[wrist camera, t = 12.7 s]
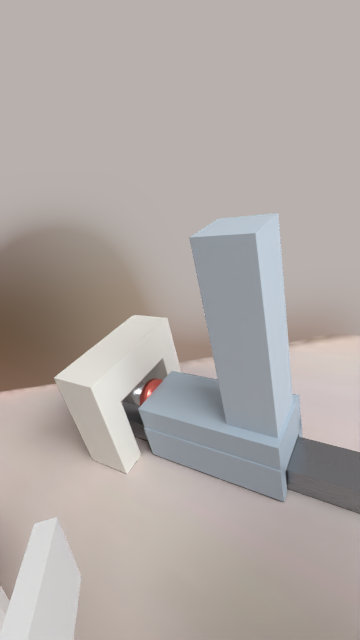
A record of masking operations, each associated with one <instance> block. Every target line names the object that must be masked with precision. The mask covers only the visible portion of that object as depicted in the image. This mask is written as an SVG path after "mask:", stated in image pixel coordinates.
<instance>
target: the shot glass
mask: <svg viewBox="0 0 360 640" xmlns="http://www.w3.org/2000/svg"><path fill="white" fill-rule="evenodd" d="M9 603H10V601H9V599H8V597H7V596H6V594H5V592H4V591H3V589H2V587H1V586H0V631H1V628H2V625H3V622H4V618H5V615H6V612H7V609H8V606H9Z"/></svg>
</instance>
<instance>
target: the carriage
mask: <svg viewBox="0 0 360 640" xmlns="http://www.w3.org/2000/svg"><path fill="white" fill-rule="evenodd" d="M190 243H191V248H192V253H193V258H194V263H195V267H196V273H197V278H198V283H199V287H200V293H201V298H202V303H203V308H204V313H205V318H206V323H207V328H208V332H209V338H210V343H211V348H212V353H213V358H214V363H215V368H216V373H217V378H218V380H217V379H212V378H207V377H202V376H196V375H191V374H186V373H181V372H175V371H171V372H170V373H169V374H168V375H167V377H166V378H165V379H164V380H163V381H162V382H161V383H160V385H159V386H158V387H157V388H156V389H155V390H154V391H153V393H152V394H151V395H150V396H149V397H148V398H147V399H146V401H145V402H144V403H143V404H142V405H141V406H140V407H139V408H138V410H139V413H140V415H141V418H142V421H143V424H144V427H145V428H144V430H145V433H146V435H147V438H148V441H149V444H150V447H151V450H152V452H153V454H154V455H157V456H159V457H162V458H165V459H168V460H170V461H173V462H176V463H179V464H181V465H184V466H187V467H190V468H192V469H195V470H198V471H201V472H203V473H206V474H209V475H211V476H214V477H217V478H220V479H222V480H225V481H228V482H231V483H233V484H236V485H239V486H242V487H244V488H247V489H250V490H253V491H255V492H258V493H261V494H263V495H266V496H269V497H272V498H274V499H277V500H280V501H283V502H284V500H285V497H286V494H287V485H286V475H285V472H286V469H287V466H288V463H289V460H290V457H291V454H292V451H293V448H294V446H295V443H296V440H297V437H301V438H302V423H301V414H300V399H299V395H296V394H292V384H291V371H290V358H289V345H288V332H287V320H286V308H285V307H286V306H285V293H284V281H283V268H282V255H281V242H280V229H279V218H278V213H273V214H263V215H252V216H243V217H233V218H221V219H217V220H216V221H214V222H213V223H211V224H210V225H208V226H206V227H205V228H203V229H202V230H200V231H199V232H197V233H196V234H194V235H192V236H191V237H190Z"/></svg>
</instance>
